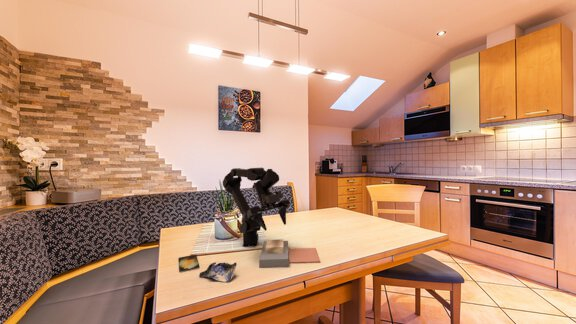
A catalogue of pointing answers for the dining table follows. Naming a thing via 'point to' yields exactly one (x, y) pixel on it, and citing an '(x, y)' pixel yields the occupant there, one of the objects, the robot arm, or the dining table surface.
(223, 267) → the snack package
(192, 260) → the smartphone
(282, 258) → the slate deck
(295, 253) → the terracotta mat
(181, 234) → the dining table surface
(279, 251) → the birch tile
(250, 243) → the robot arm
